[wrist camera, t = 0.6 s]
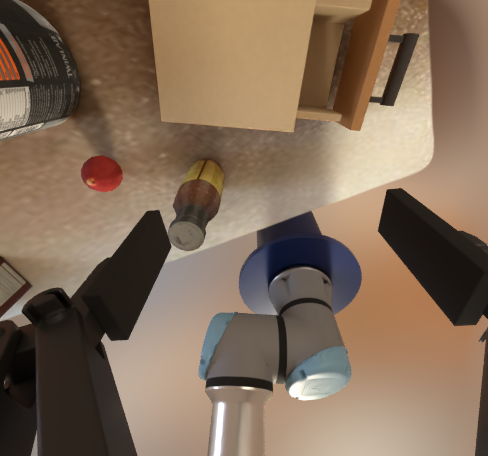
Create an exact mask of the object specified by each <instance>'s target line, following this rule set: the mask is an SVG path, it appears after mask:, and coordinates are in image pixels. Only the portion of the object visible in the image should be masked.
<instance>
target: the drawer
mask: <svg viewBox="0 0 488 456" xmlns="http://www.w3.org/2000/svg"><path fill="white" fill-rule="evenodd" d="M400 1H401V0H316V4H315V10H314V16H313V21H312V27H311V33H310V39H309V45H308V51H307V56H306V62H305V68H304V74H303V80H302V86H301V91H300V97H299V103H298V109H297V115H296V118H300V119H312V120H324V121H335V122H337V123H339V124H341V125H342V126H344V127H346V128H348V129H350V130H355V131H360V129H361V126H362V123H363V119H364V116H365V113H366V110H367V107H368V103H369V102H374V103H380V105H385V106H394V103H395V100H396V98H397V95H398V92H399V89H400V87H401V84H402V81H403V78H404V76H405V73H406V70H407V67H408V65H409V62H410V59H411V56H412V54H413V51H414V48H415V45H416V43H417V40H418V37H419V34H415V33H407V34H403V36H400V35H390V33H391V30H392V27H393V23H394V20H395V17H396V14H397V11H398V7H399V4H400ZM354 18H355V20H354V24H353V28H352V32H351V36H350V41H349V45H348V49H347V53H346V57H345V61H344V65H343V69H342V73H341V78H340V82H339V86H338V90H337V94H336V98H335V102H334V106H333V110H330V109H328V108H326V104H327V100H328V95H329V91H330V86H331V82H332V78H333V73H334V69H335V64H336V60H337V56H338V51H339V47H340V43H341V38H342V34H343V29H344V25H345V23H346V22H348V21H350V20H352V19H354ZM388 42H391V43H400V45H399V48H398V51H397V54H396V57H395V60H394V63H393V66H392V69H391V72H390V75H389V78H388V81H387V84H386V87H385V90H384V93H383V96H382V97H371V94H372V91H373V87H374V84H375V81H376V78H377V75H378V71H379V68H380V65H381V62H382V59H383V55H384V52H385V49H386V46H387V43H388Z"/></svg>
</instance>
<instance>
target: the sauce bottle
mask: <svg viewBox="0 0 488 456" xmlns="http://www.w3.org/2000/svg"><path fill="white" fill-rule="evenodd" d="M223 183H224V174H223V171H222V169H221V167H220V165H219V164H218V163H216V162H215V161H213V160H210V159H201V160H199V161H197V162H195V163H194V164H193V165H192V166H191V168H190V169H189V171H188V173H187V175H186V177H185V179H184V180H183V182H182V184H181V186H180V188H179V190H178V192H177V195H176V197H175V201H174V204H173V208H174V209H175V212H176V215H177V216H176V219H175V220H174V221H172V223H171V224H170V227H169V230H168V237H169V240H170V242H171V243H172V244H173V245H174V246H176V247H177V248H179V249H181V250H185V251H192V250H195V249H197V248H199V247H200V246H201V245H202V244H203V242H204V239H205V235H206V230H205V228H206V226H207V223H208V222H209V221H210V220H211V219H213V218H214V216H215V215H216V214H217V213H218V210H219V206H220V202H221V196H222V190H223Z"/></svg>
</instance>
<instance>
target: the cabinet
mask: <svg viewBox="0 0 488 456" xmlns="http://www.w3.org/2000/svg"><path fill="white" fill-rule="evenodd" d="M315 4H316V0H149V9H150V18H151V27H152V37H153V46H154V56H155V65H156V74H157V84H158V93H159V103H160V112H161V121H162V122H172V123H185V124H197V125H210V126H222V127H235V128H247V129H260V130H272V131H284V132H294V126H295V120H296V115H297V109H298V103H299V97H300V91H301V86H302V80H303V74H304V68H305V62H306V56H307V51H308V45H309V39H310V33H311V27H312V21H313V16H314V10H315Z"/></svg>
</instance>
